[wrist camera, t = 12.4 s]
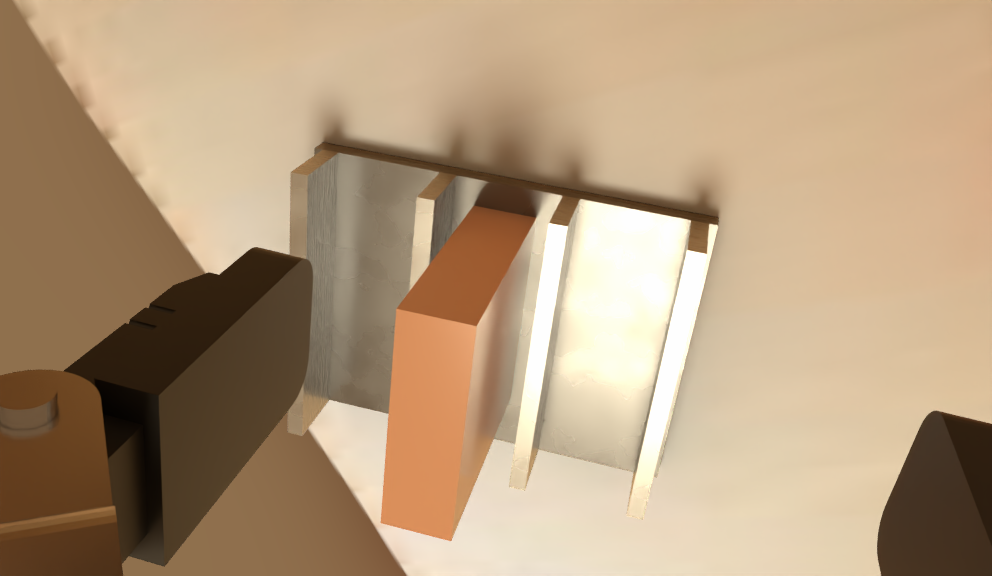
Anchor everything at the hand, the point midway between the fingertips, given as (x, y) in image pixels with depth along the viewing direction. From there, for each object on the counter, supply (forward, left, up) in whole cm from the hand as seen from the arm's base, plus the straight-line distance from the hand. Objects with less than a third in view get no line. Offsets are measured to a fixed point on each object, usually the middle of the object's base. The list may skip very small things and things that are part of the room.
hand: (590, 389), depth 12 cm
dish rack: (-6, -15, -29) cm, 34 cm away
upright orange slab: (-7, -14, -28) cm, 33 cm away
